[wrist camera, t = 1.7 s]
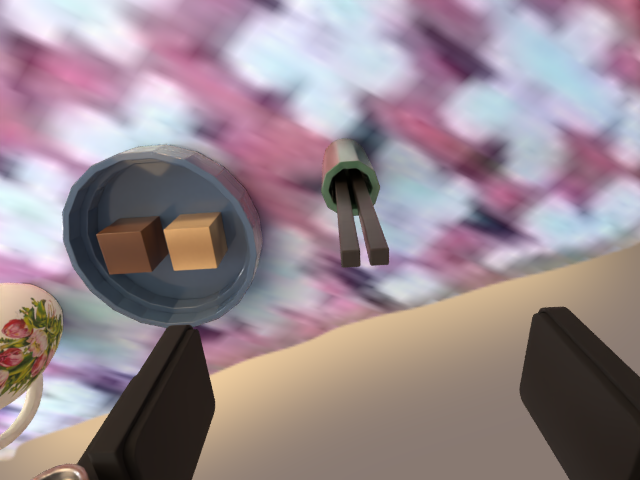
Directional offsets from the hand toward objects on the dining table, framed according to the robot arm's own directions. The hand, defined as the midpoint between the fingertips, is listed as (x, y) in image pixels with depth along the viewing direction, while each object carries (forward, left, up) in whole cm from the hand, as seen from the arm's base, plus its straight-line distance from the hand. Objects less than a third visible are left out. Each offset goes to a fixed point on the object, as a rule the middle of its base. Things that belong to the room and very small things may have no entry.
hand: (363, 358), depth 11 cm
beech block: (+6, -13, -26) cm, 29 cm away
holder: (0, +1, -26) cm, 26 cm away
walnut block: (+6, -19, -26) cm, 33 cm away
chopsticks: (0, +1, -26) cm, 26 cm away
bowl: (+6, -16, -26) cm, 31 cm away
